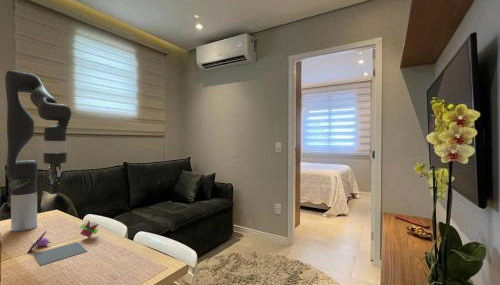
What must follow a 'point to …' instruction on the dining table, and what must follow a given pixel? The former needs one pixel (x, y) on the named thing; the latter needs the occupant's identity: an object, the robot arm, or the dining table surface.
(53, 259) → the mat
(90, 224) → the geometric puzzle
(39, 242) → the game card
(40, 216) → the dining table surface
